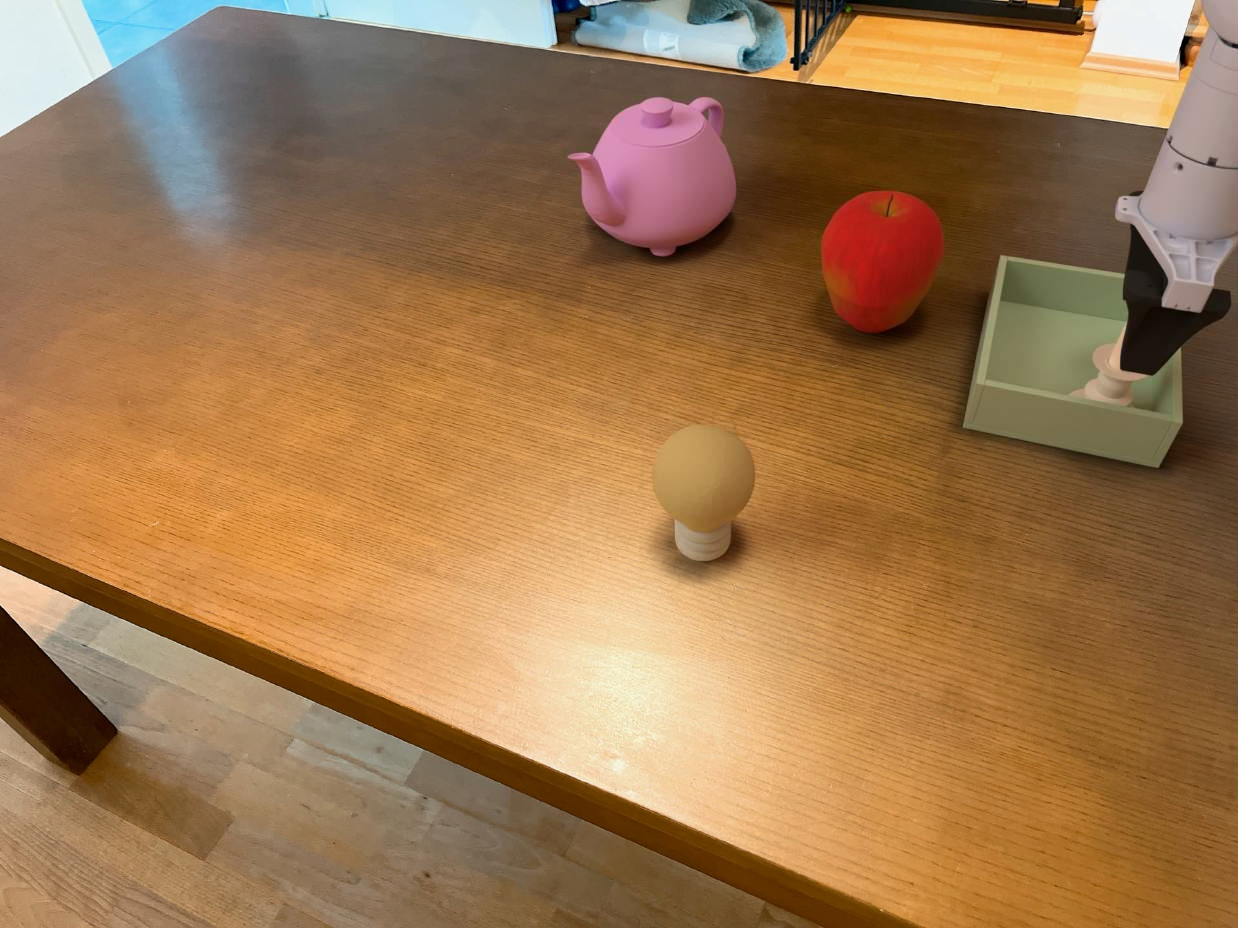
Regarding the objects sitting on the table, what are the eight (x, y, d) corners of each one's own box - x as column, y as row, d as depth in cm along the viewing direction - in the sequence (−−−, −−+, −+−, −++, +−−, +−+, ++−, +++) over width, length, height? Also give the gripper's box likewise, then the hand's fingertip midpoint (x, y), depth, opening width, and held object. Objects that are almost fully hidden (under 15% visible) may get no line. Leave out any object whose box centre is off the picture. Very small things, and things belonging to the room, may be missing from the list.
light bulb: (683, 495, 65) (681, 392, 58) (765, 528, 63) (775, 425, 56) (638, 559, 62) (630, 458, 54) (724, 597, 59) (728, 496, 52)
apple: (931, 295, 79) (960, 168, 70) (921, 363, 73) (951, 233, 64) (822, 281, 81) (837, 155, 72) (804, 345, 76) (818, 217, 67)
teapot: (636, 307, 80) (629, 181, 71) (528, 248, 88) (509, 127, 79) (778, 208, 89) (786, 86, 81) (669, 162, 97) (666, 46, 88)
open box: (1158, 328, 74) (1179, 282, 71) (1158, 468, 64) (1183, 423, 61) (987, 299, 78) (1000, 254, 75) (962, 428, 68) (976, 383, 65)
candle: (1060, 387, 70) (1104, 273, 62) (1135, 399, 68) (1190, 284, 61) (1059, 435, 66) (1106, 321, 59) (1138, 448, 65) (1197, 333, 57)
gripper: (1144, 79, 57) (1079, 262, 67) (1142, 200, 48) (1067, 391, 58) (1273, 92, 55) (1186, 278, 65) (1296, 220, 46) (1190, 414, 56)
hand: (1137, 333), depth 62 cm, fingers open, 7 cm apart
